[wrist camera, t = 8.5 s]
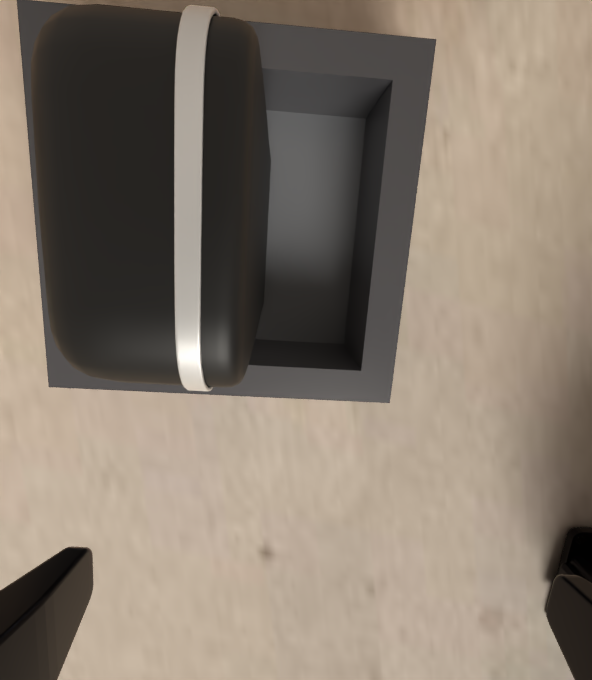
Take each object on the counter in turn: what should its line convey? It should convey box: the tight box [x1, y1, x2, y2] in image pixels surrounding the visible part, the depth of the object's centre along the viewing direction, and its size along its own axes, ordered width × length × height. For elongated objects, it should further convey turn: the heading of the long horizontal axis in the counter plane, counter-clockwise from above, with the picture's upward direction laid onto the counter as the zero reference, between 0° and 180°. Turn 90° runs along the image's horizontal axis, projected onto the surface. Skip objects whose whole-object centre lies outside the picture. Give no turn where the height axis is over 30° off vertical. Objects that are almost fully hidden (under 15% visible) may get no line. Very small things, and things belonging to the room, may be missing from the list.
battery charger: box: [31, 4, 271, 391], centre depth 12 cm, size 7×4×11 cm, turn 176°
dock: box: [17, 0, 436, 403], centre depth 16 cm, size 14×14×5 cm
